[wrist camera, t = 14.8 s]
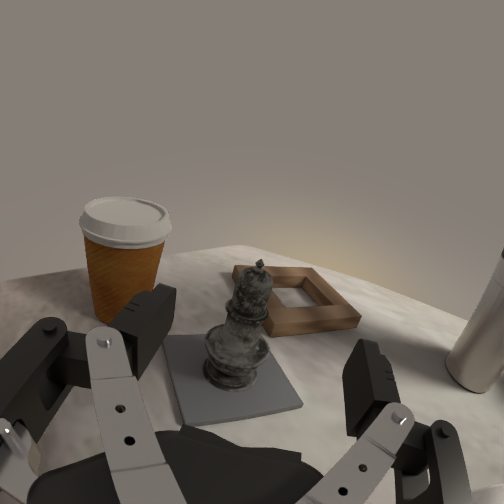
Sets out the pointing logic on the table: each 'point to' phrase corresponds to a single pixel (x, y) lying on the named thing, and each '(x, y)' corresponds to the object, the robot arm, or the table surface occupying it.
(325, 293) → the walnut holder
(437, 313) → the table surface
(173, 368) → the charcoal coaster
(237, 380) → the black chess piece
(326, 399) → the table surface
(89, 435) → the table surface
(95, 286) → the disposable coffee cup
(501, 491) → the spoon rest
